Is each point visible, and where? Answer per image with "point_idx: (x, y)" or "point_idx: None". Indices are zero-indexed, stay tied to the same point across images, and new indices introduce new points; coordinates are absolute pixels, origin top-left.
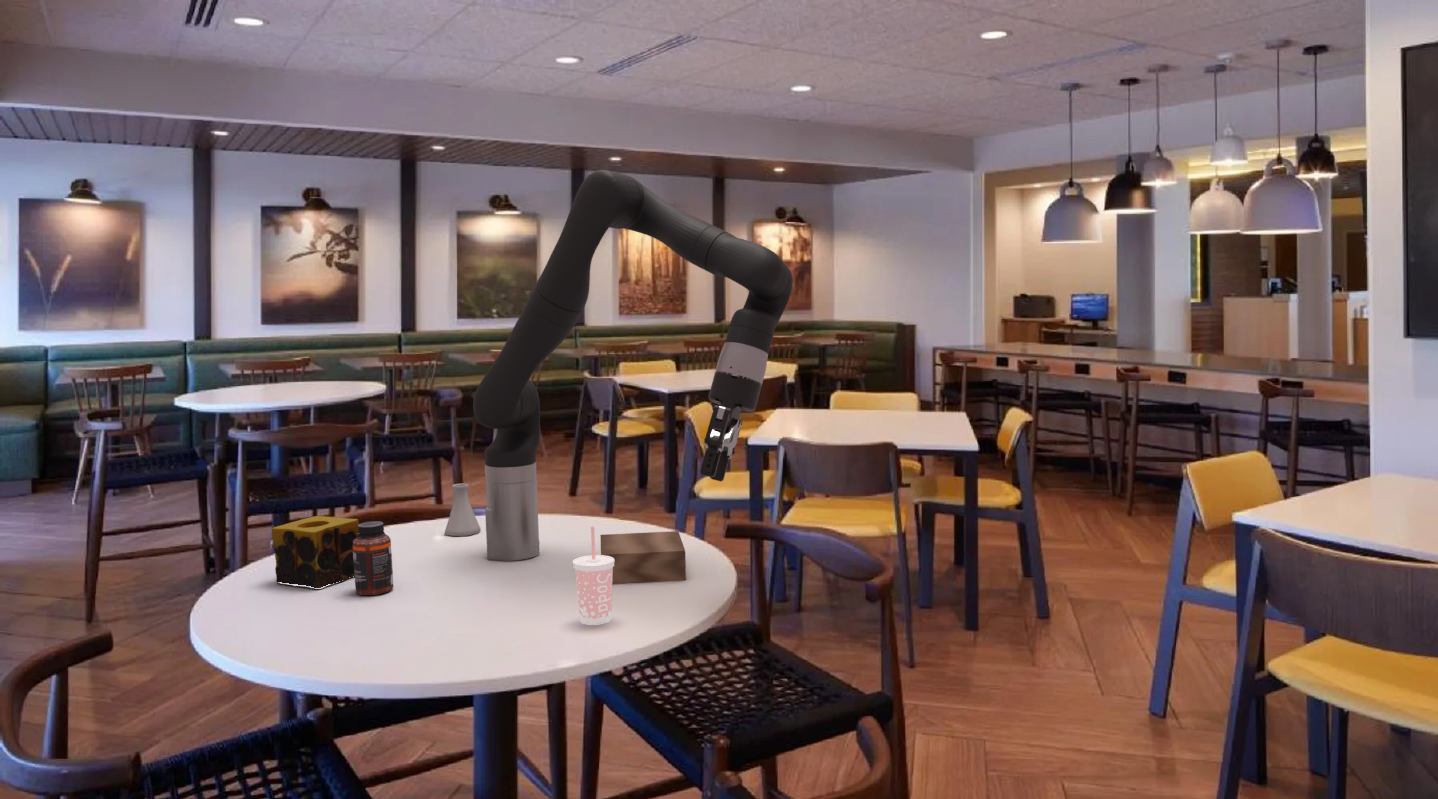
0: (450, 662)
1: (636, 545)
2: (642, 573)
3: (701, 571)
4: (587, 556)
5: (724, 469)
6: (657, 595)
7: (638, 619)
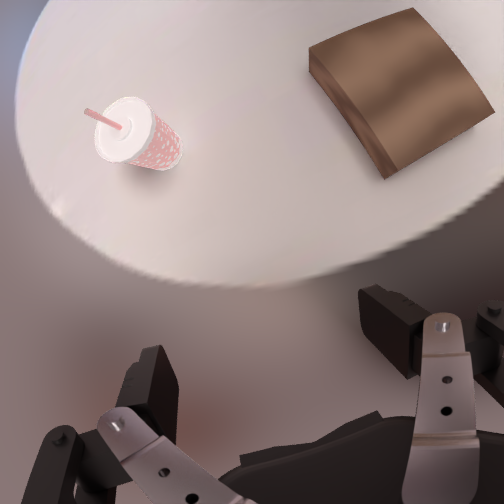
0: (44, 114)
1: (389, 74)
2: (347, 114)
3: (433, 184)
4: (140, 103)
5: (383, 350)
6: (293, 171)
7: (183, 201)
